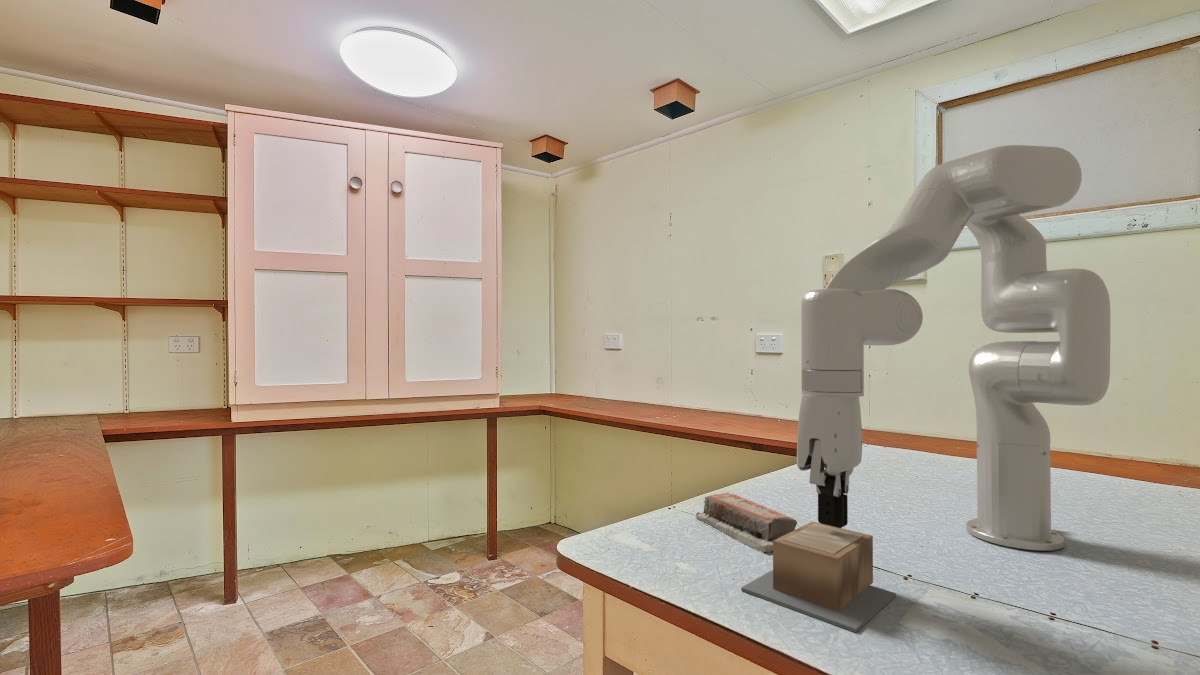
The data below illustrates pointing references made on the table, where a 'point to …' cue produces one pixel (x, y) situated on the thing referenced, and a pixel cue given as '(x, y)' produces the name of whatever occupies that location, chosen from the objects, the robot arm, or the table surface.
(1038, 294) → the robot arm
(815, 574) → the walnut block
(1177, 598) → the table surface
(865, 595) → the mat
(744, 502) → the packaged product
